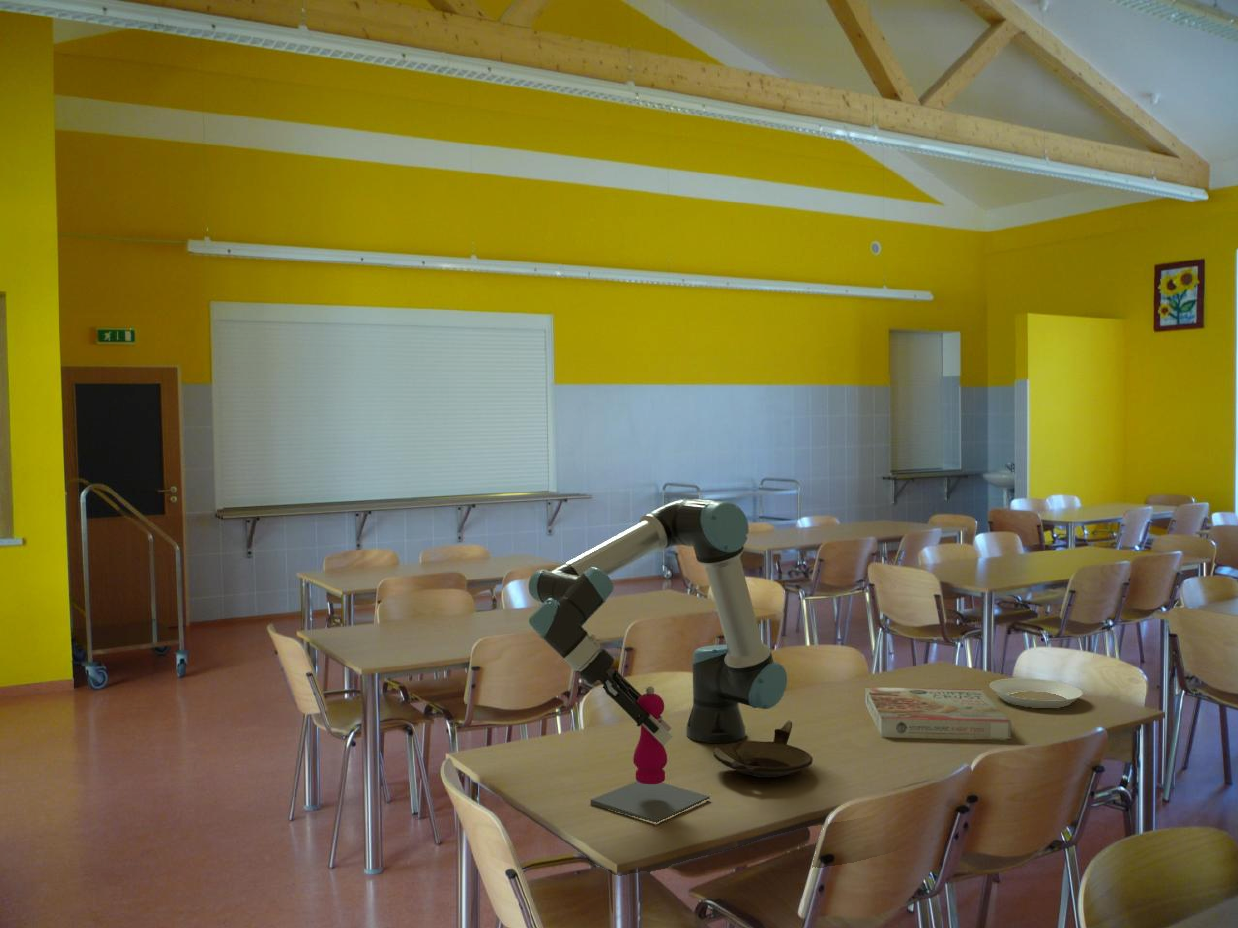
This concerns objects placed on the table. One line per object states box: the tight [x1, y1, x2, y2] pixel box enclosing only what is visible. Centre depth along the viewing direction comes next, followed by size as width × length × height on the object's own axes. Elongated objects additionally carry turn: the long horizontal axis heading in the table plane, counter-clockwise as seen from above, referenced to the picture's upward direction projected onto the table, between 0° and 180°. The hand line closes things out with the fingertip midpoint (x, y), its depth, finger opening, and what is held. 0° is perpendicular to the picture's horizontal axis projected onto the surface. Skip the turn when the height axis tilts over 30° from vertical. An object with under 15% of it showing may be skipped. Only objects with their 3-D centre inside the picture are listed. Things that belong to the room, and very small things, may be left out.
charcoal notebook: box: [590, 781, 711, 823], centre depth 225 cm, size 18×18×1 cm
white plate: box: [989, 677, 1084, 709], centre depth 305 cm, size 25×25×4 cm
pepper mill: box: [632, 686, 668, 784], centre depth 225 cm, size 7×7×20 cm
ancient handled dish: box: [712, 719, 814, 778], centre depth 246 cm, size 22×30×8 cm
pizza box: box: [864, 686, 1012, 740], centre depth 285 cm, size 32×5×32 cm
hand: (667, 736), depth 225 cm, fingers closed on pepper mill, 5 cm apart
